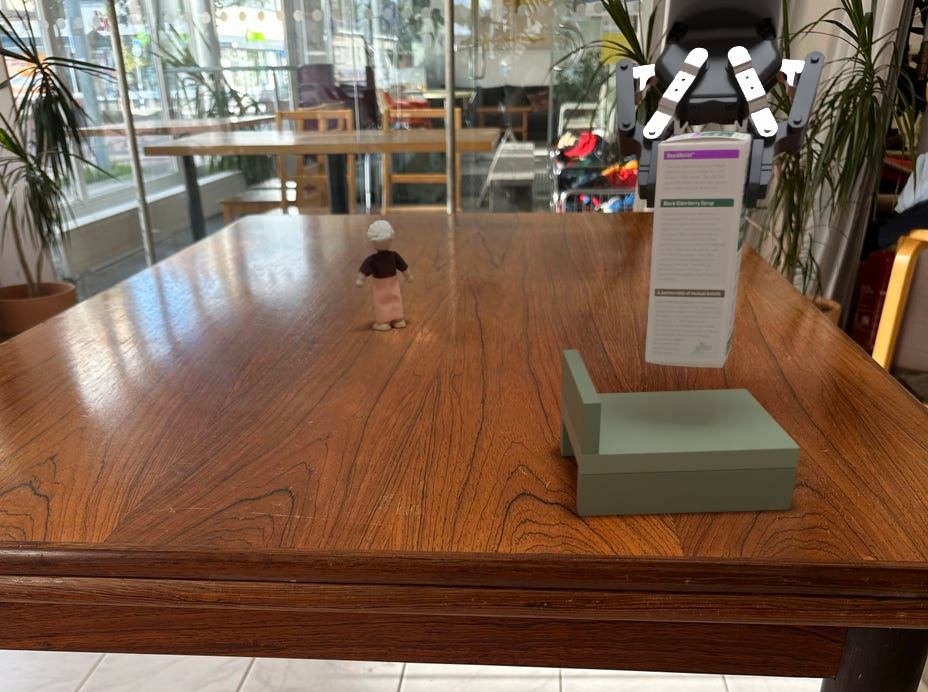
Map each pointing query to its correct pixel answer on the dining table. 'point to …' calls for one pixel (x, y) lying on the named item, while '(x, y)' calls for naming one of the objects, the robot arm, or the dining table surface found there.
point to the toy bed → (672, 449)
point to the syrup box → (697, 247)
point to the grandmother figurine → (384, 277)
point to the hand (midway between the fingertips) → (701, 199)
